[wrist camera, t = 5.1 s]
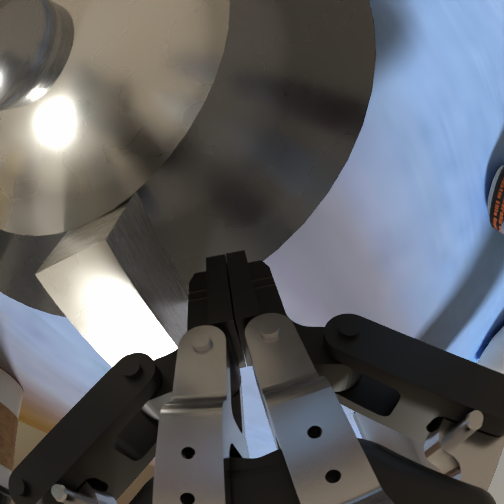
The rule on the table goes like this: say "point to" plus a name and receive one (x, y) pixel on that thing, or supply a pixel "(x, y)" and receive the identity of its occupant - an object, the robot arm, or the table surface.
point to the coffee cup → (8, 430)
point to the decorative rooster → (494, 353)
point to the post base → (247, 141)
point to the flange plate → (102, 151)
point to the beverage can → (497, 201)
